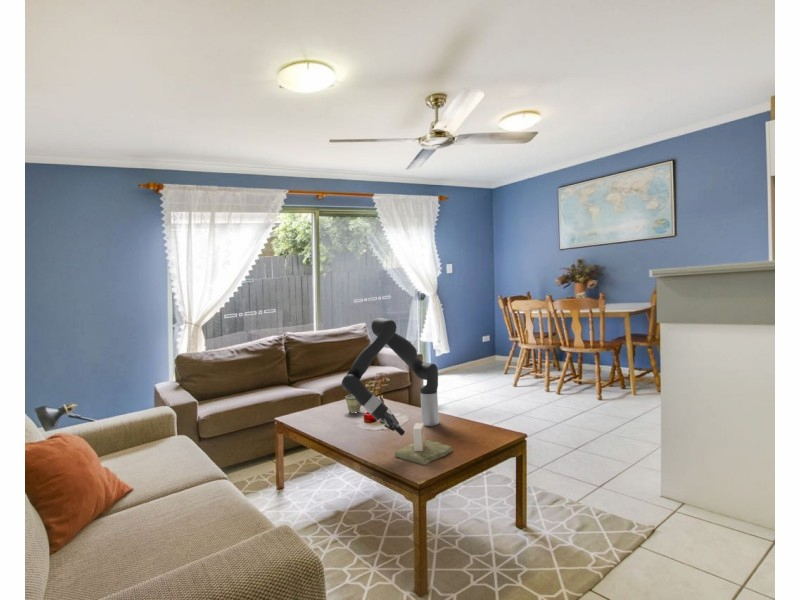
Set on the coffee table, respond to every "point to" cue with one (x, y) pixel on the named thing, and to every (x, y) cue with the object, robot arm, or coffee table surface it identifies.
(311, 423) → the coffee table surface
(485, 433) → the coffee table surface
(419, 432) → the white rectangular block
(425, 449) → the decorative tile
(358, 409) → the ceramic cup
